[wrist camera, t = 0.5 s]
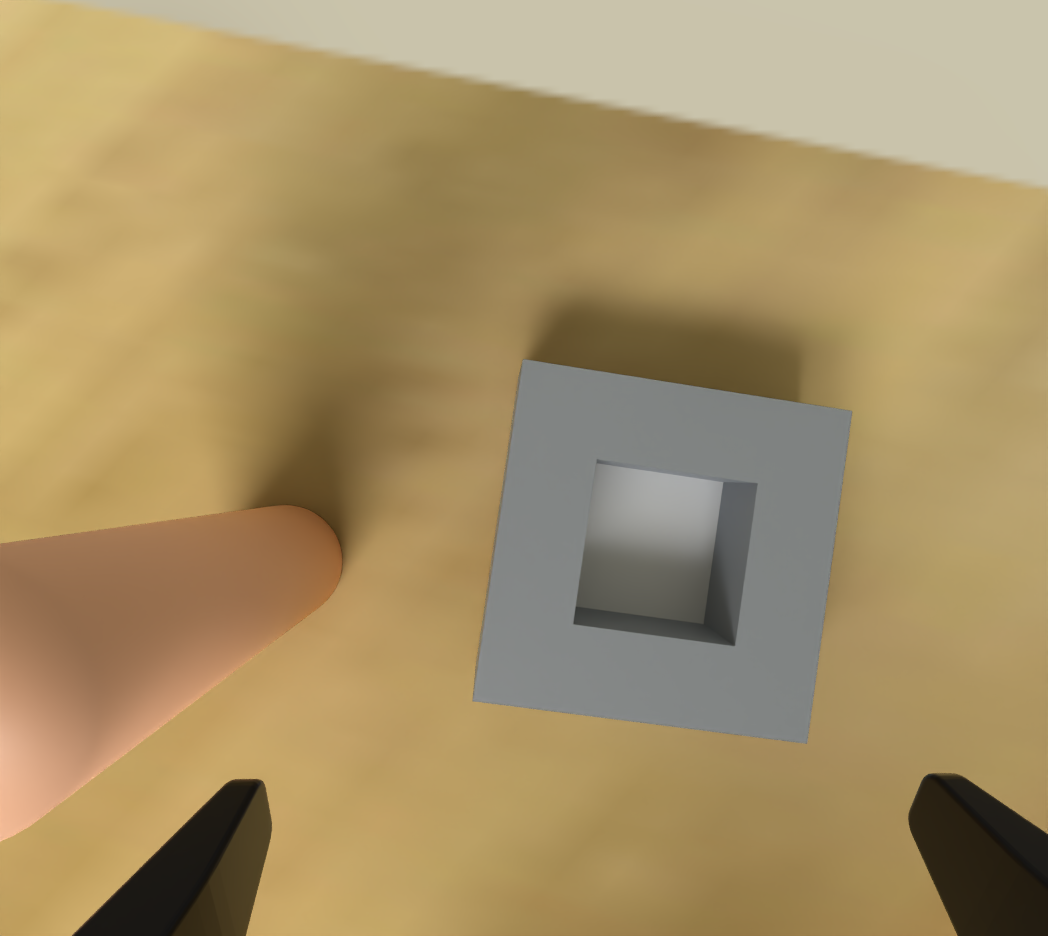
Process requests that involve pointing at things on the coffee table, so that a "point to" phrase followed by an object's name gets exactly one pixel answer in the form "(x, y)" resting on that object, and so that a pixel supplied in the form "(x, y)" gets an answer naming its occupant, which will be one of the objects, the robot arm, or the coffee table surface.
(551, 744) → the coffee table surface
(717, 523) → the socket block
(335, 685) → the coffee table surface
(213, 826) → the robot arm
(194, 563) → the pin
